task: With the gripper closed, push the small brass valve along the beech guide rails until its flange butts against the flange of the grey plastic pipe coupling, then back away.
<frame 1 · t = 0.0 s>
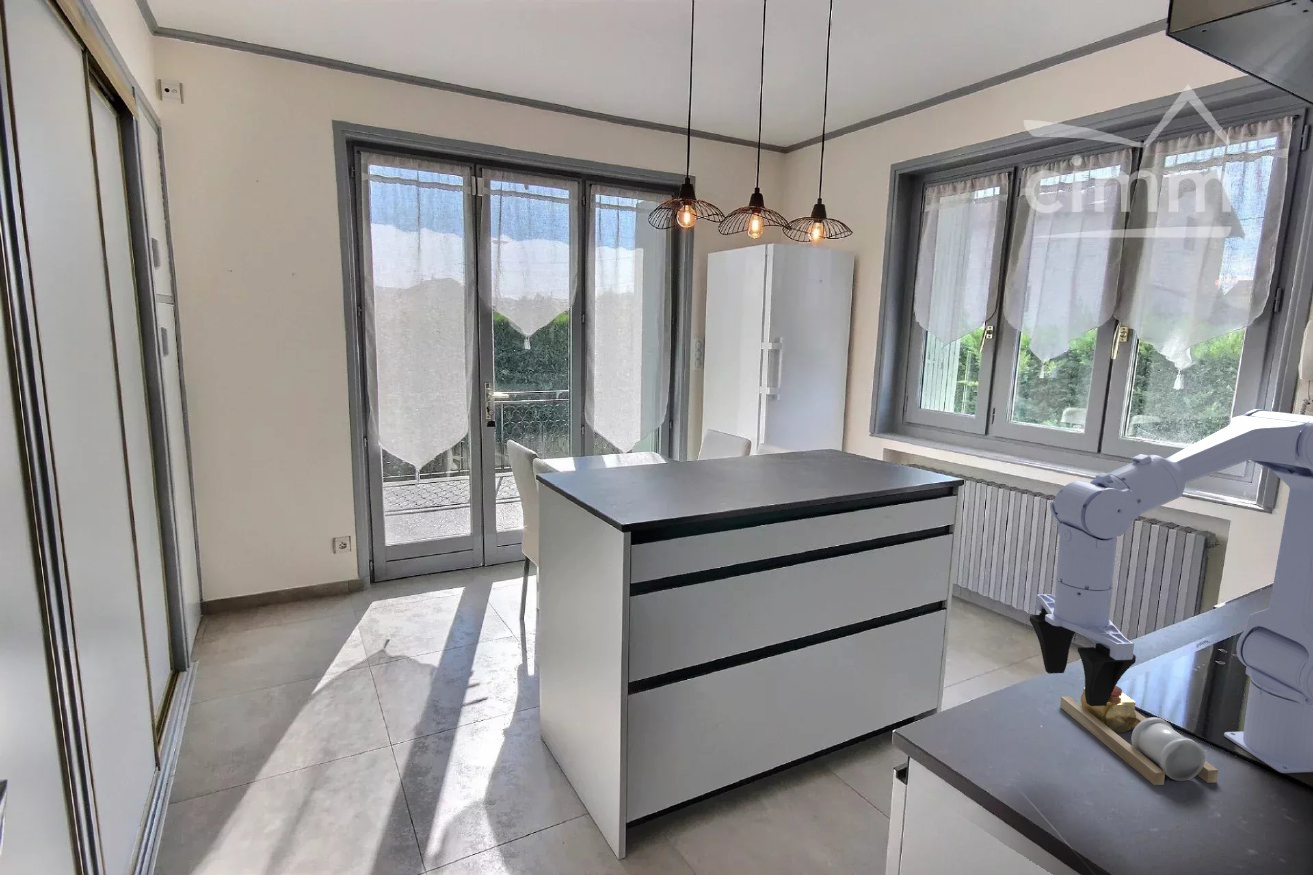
hand: (1074, 687, 82), 10 cm above the counter, tool pointing down, fingers open, 7 cm apart
coupling: (1165, 767, 82), on the counter
guide rails: (1131, 740, 87), on the counter
valve: (1106, 721, 92), on the counter
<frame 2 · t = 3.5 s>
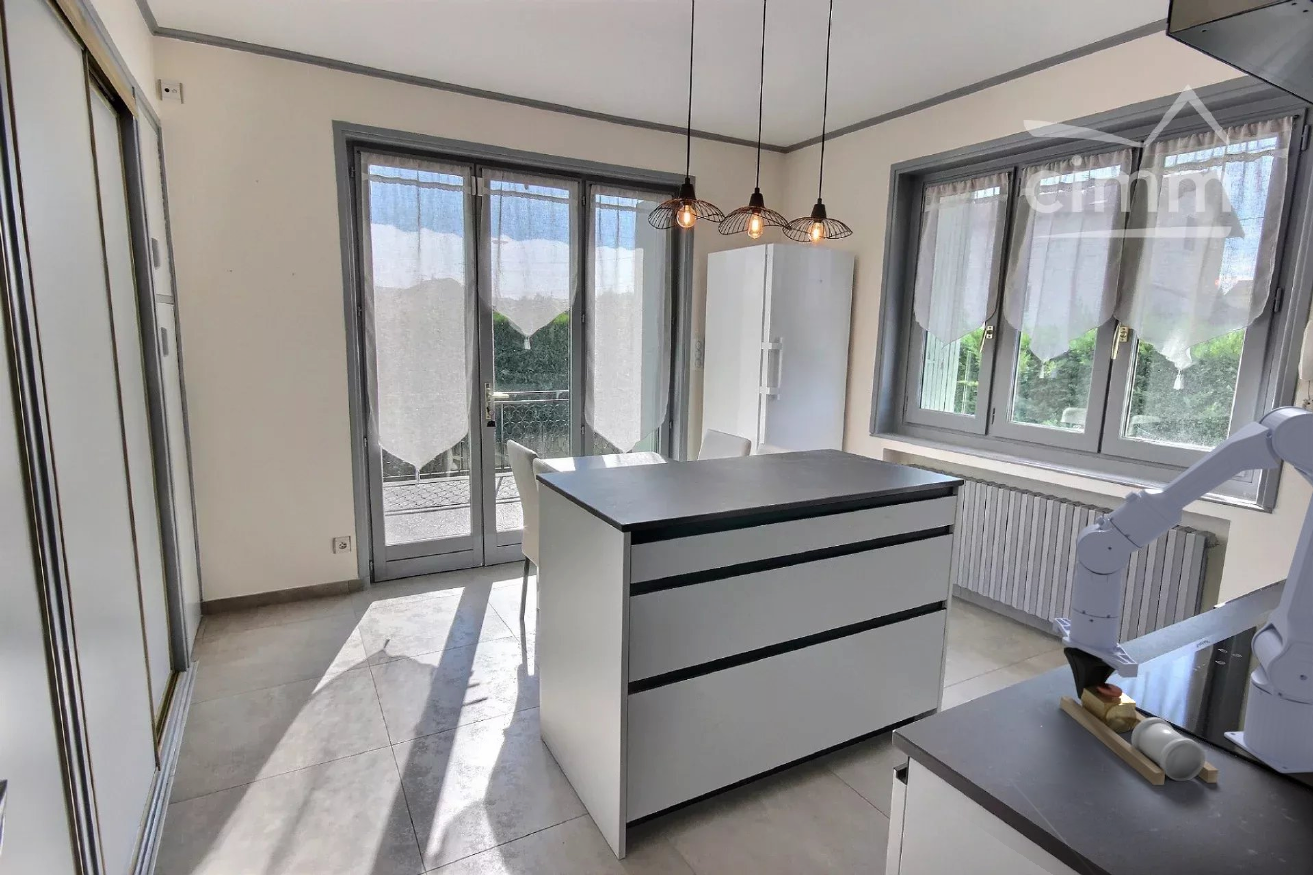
hand: (1087, 699, 95), 1 cm above the counter, tool pointing down, fingers closed
valve: (1106, 721, 92), on the counter, touching gripper
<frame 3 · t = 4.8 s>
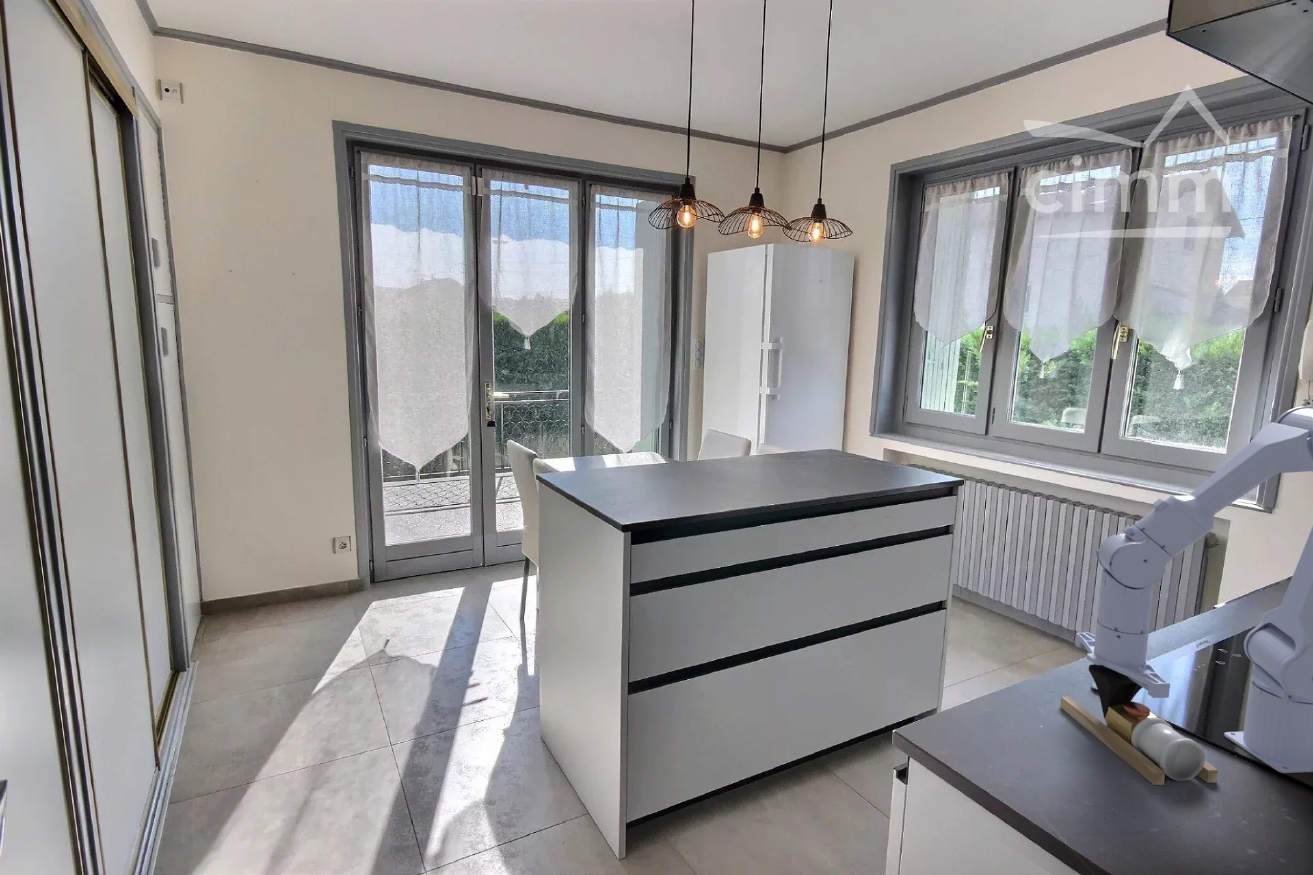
hand: (1113, 719, 90), 1 cm above the counter, tool pointing down, fingers closed
valve: (1133, 742, 87), on the counter, touching coupling, gripper
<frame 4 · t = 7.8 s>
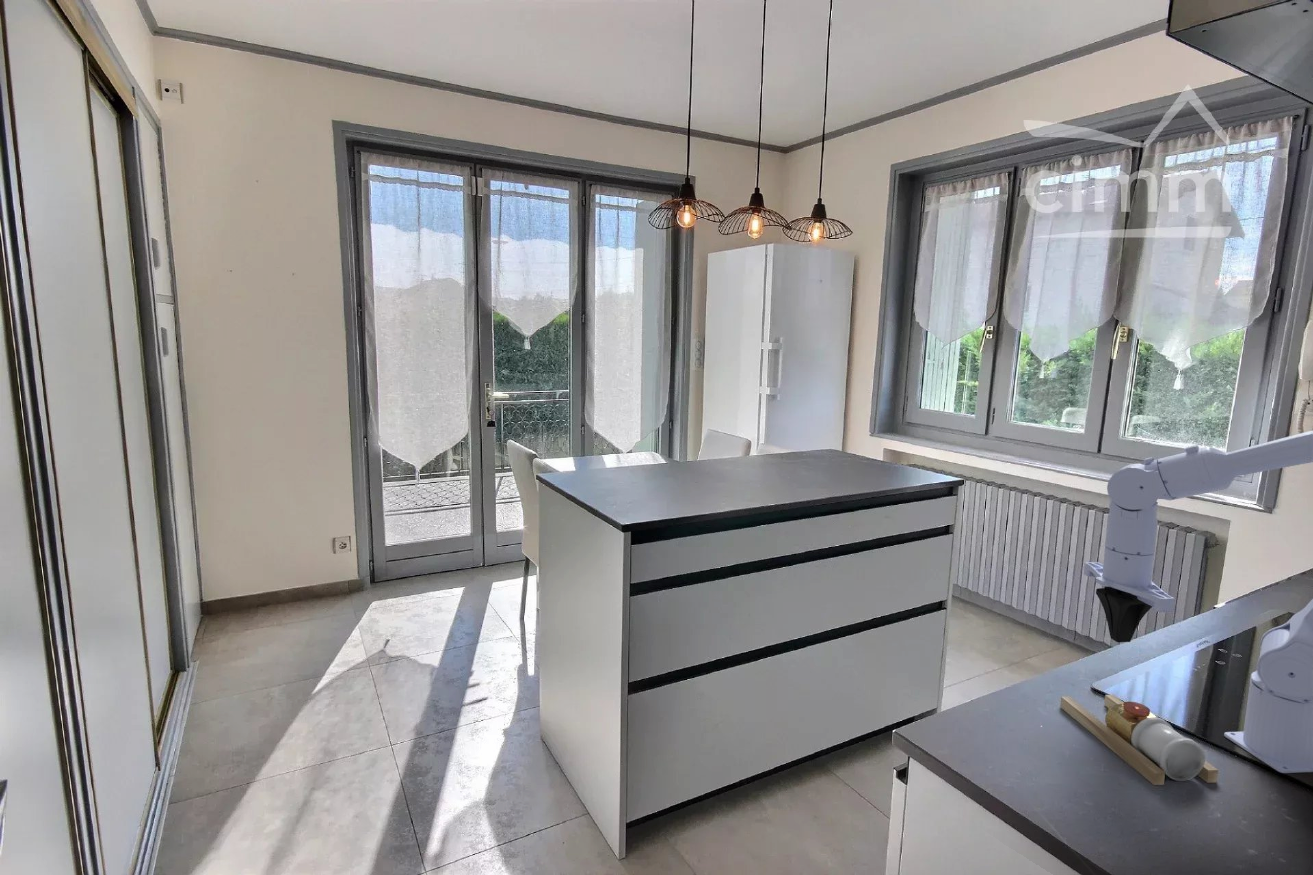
hand: (1120, 640, 96), 9 cm above the counter, tool pointing down, fingers closed
valve: (1133, 742, 87), on the counter
at the end: valve 0.1 cm from the target spot, on the counter; valve 5.1 cm from the coupling (horizontally); valve tilted 0° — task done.
